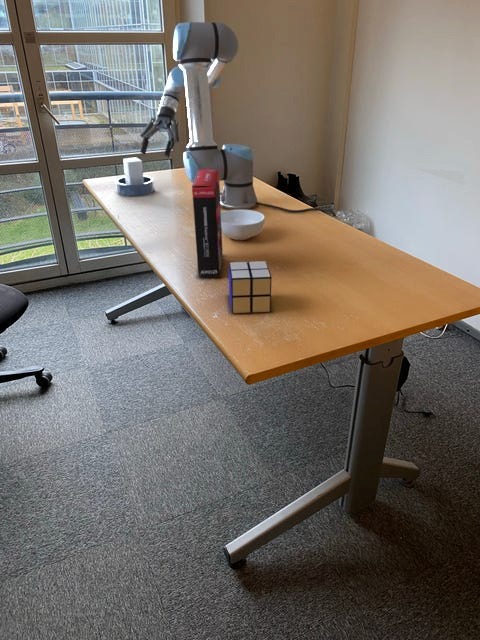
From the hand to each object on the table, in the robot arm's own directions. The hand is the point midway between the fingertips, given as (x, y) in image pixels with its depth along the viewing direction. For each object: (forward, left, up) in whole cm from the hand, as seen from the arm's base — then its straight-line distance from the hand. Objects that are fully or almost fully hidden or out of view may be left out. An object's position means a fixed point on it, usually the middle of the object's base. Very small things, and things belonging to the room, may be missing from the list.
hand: (154, 154), depth 225 cm
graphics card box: (-55, +78, -13) cm, 97 cm away
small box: (+4, +13, -13) cm, 19 cm away
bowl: (+4, +13, -13) cm, 19 cm away
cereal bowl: (-56, +51, -13) cm, 77 cm away
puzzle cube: (-73, +97, -13) cm, 122 cm away
